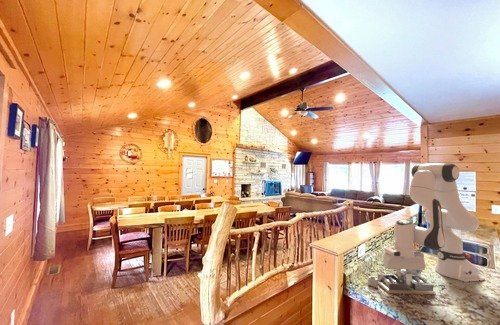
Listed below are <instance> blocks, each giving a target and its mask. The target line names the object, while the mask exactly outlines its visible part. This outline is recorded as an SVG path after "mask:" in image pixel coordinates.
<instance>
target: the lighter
mask: <svg viewBox="0 0 500 325" xmlns="http://www.w3.org/2000/svg"><path fill="white" fill-rule="evenodd" d="M380 274H381V275H380V276H379V278H378V277H377V278H376V276H375V275H370V276H368V286H370V285H371V286H370V287H372V286H373V287H372V288H375V287H376V288H375V289H378V287H379V286H378V285H379V284H378V281H379V282H380V281H381V279H382V278H383V276H384V275H383V274H384V273H382V272H381V273H380Z"/></svg>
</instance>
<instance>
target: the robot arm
mask: <svg viewBox="0 0 500 325" xmlns="http://www.w3.org/2000/svg"><path fill="white" fill-rule="evenodd" d="M411 176H412V180H411V183H410V187H409V192H408V193H409V195H408V196H409V198H410V200H412V201H413V202H414V203H416V204H417V205H419V206H421V207H423V208H425V209H426V210H425V212H424V219H425V220H426V222H427V223H429V228H426V227H424V226H423V227H422V226H418V225H415V224H414V223H413V221H411V220H408V219H399V220H396V222H395V224H394V232H393V236H394V244H393V245H391V246H388V247H385V248H384V252H385V253H384V255H383V266H384V267H385V268H386V269H388V270H395V271H396V274H397V273H398V277H400V278H401V277H403V274H401V273H400V271H401V269H403V270H408V272H409V273H411V274H412V273H413V270H423V271H424V270H426V261H425V254H424V253H423V252H422V251H420V250H419V251H416V250H415V245H418V246H421V247H425V248H427V249H429V250H432V251H436V252H437V259H436V260H437V261H436V265H435V268H434V271H435V272H436V273H438V274H439V275H442V276H444V277H447V278H450V279H455V280H458V281H461V282H464V283H465V282H466V283H470V282H478V281H479V280H480V281H485V277H484V276H482V275H481V274H480V273H479V270H478V267H477V266H476V265H474V264H473V263H472V262H471V261H469V260H468V259H467V258H469V259H470V257H471V254H469V253H464V249H463V248H464V245H463V244H464V243H463V240H462V238H461V237H460V236H459V235H457V234H456V233H455V232H454V231H453V230H452V229H454V230H458V231H463V232H475V231H477V230H478V228H479V227H480V220H479V218H478V217H477V216H476V215H475V214H473V213H472V212H470V211H469V210H468V209H467V208H466V207H465V206H464V205H463V203H462V202H461V199H460V195H459V190H458V185H457V182H456V181H457V179H458V178H459V176H460V169H459V167H458V166H457V165H455V164H454V163H450V162H447V163H444V162H443V163H442V162H441V163H440V162H433V163H419V164H415V165H413V167H412V169H411ZM442 207H443V208H442ZM469 281H470V282H469Z"/></svg>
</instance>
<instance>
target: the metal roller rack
mask: <svg viewBox="0 0 500 325" xmlns="http://www.w3.org/2000/svg"><path fill="white" fill-rule="evenodd" d="M382 274H383V275H384V276H383V278H382V279H381V281H380V282H379V281H378V285H379V286H380V287H381V288H382V289H383V290H384V291H385V292H386V293H388V294H413V295H415V294H416V295H418V294H419V295H420V294H422V295H436V293H437V292H436V290H435V289H434V284H432V283H426V282H424V281H423V280H421V279H420V276H419V274H418V275H412V286H408V284H407V283H405V282H404V281H402V280H401V279H400V278H398V277H397V274H394V273H393V274H392V273H382ZM380 275H381V273H377V279H378V278H379V276H380Z"/></svg>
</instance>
